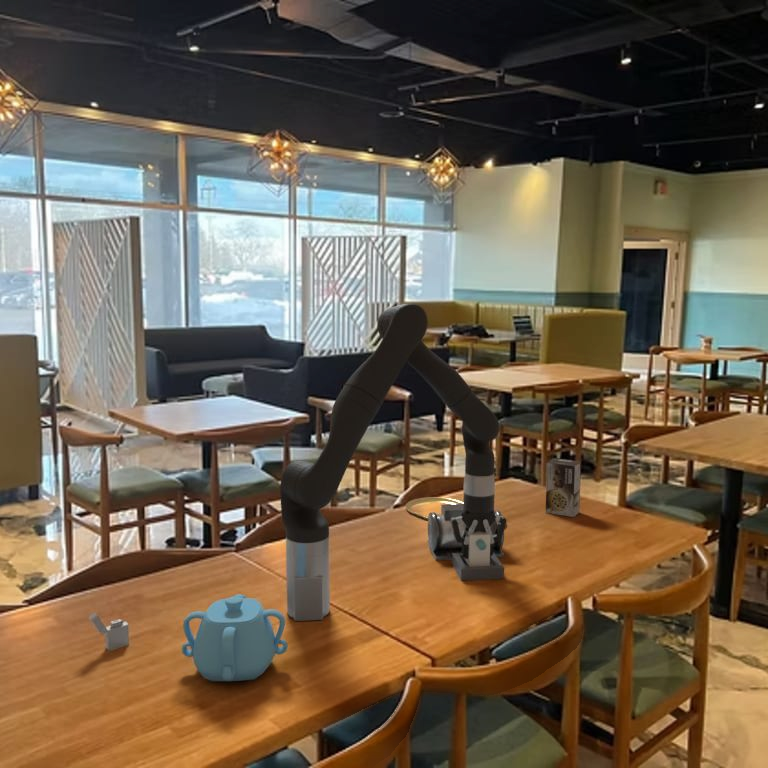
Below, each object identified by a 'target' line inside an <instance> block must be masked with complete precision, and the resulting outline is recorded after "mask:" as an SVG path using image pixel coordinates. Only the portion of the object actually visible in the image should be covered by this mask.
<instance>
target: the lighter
mask: <svg viewBox="0 0 768 768" xmlns="http://www.w3.org/2000/svg"><path fill="white" fill-rule="evenodd" d="M88 618H89V620H90V621H91V623H92V624H93V626H94V627H95V629H96V630H97V632H98V633H99V634H100V635H101V636H102V635H103V634H104V637H105V638H104V639H105V640H104V641H105V649H106V650H107V651H108V652H111V651H114V650H116V649H120V648H123V647H126V646H129V645H130V632H129V631H130V630H129V623H128V622H127V621H124V620H123V619H119V618H118V619H115V620H112V621H110V625H107V626H106V625H105V624H104V623H103V621H102V620H101V619H100V616H99V615H98V614H97V613H96V612H93V613H91V615H89V616H88Z"/></svg>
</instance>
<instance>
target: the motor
mask: <svg viewBox="0 0 768 768" xmlns="http://www.w3.org/2000/svg"><path fill="white" fill-rule="evenodd" d="M440 509H441V511H440V512H441V513H436V512H429V513H428V516H427V517H428V520H427V538H428V539H427V545H428V548H429V549H430V552H431V554H432V555H433V558H434V561H452V553H462V543H458V542H457V541H456V539H455V537H454V532H453V528H452V524H451V520H450V519H451V517H455V518H456V517H460V516H461V515H462V513H463V504H449V503H445V504H441V508H440ZM494 513H495V515H497V516H500V515H502V512H501V511H500V510H498V509H494ZM496 526H497V523H496V520H495V521H494V522H493V523H492V525H491V526H490V529H491V532H492V535H494V534H495V530H496ZM465 527H466V525H465V523H464V522H463V521H461V525H460V526H459V531H460V535H461V536H462V537H463V534H464V530H465ZM504 543H505V530H504V531H503V535H502V538H501V541H496V542H494V544H493V552H494V554H495V555H496V557H497V558H498V559H499V558H504V557H505V553H504V551H503V550H502V548H503V546H504Z"/></svg>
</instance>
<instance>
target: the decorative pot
mask: <svg viewBox="0 0 768 768" xmlns="http://www.w3.org/2000/svg"><path fill="white" fill-rule="evenodd" d="M270 617H275V618H277V619H278V622H279V624H278V625H279V626H278V629H277V631H276V634H275V632H274V627H273V625H272V622H271V620H270V619H269V618H270ZM194 619H200V620H201V621H200V624H199V626H198V629H197V631H196V635H195V637H194V635H193V632H192V629H191V627H190V626H191V625H190V621H192V620H194ZM182 625H183V626H182V627H183V632H184V634H185V637H186V640H187V641H186V642H184V644H183V645H182V646H181V652H182V654H183V655H184V656H185V657H187V658H192V659H193V663H194V666H195V668H196V670H197V671H198V672H199V674H200V675H201V676H202V677H204V678H205V679H206V680H209V681H211V682H238V681H239V682H240V681H254V680H256V679H258V678H259V676H261V675H263V673H265V671H266V670H267V668H268V667H270V665H271V663H272V661H273V659H274V657H275V655H283V654H284V653H286V652H287V650H288V648H289V645H288V642H287V640H285V639H282V635H283V634H284V630H285V627H286V619H285V616H284V615H283V613H282V612H280V611H279V610H276V609H265V608H264V606H263V605H262V603H261V602H260V601H259V600H257V599H256V598H251V597H246V595H244V594H240V593H238V594H235V595H234V596H231V597H227V598H223V599H222V598H221V599H218V600H216V601H214V602H212V604H211V605H209V607H208V608H207V610H206V611H205V612H204V611H201V610H199V611H197V610H196V611H193V612H191V613H189V614H188V615H187V616H186V617H185V619H184V620H183V624H182ZM279 645H282V646H281V647H279ZM188 647H189V648H190V649H188Z"/></svg>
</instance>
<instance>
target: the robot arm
mask: <svg viewBox="0 0 768 768" xmlns="http://www.w3.org/2000/svg"><path fill="white" fill-rule="evenodd" d="M428 325H429V321H428V315H427V312H426V310H425V309H424V308H423V307H422V306H420V305H419V304H416V303H402V304H398V305H395V306H391V307H388V308H387V309H385V310H383V311H382V312H381V313H380V315H379V316H378V318H377V324H376V326H377V331H378V334H379V336H380V338H381V339H382V340H381V341H380V343H379V345H378V346H377V347H376V348H375V350H374V351H373V353H372V354H371V355H370V356H369V357H368V358H367V359H366V360H365V361H364V362H363V363H362V364H361V365H360V366H359V367H358V368H357V369H356V370H355V371H354V372H353V373H352V374H351V376H350V377H349V378H348V380H346V382H345V384H344V386H343V387H342V389H341V390H340V392H339V394H338V396H337V397H336V399H335V401H334V403H333V406H332V409H331V416H330V427H329V434H328V438H327V442H326V444H325V445H324V447H323V450H322V452H321V453H320V455H319V456H318V458H317V459H316V461H315V463H313V462H311V461H307V460H302V459H298V460H294V461H292V462H290V463H289V464H288V465H287V466H286V467H285V469H284V470H283V473H282V474H281V478H280V485H279V495H280V511H281V512H280V513H281V521H282V524H283V526H284V529H285V548H286V550H285V552H286V553H285V555H286V556H285V557H286V560H285V561H286V565H285V567H286V606H287V608H286V610H287V615H288V616H289V617H290V618H292V619H293V621H294V622H301V621H302V622H303V621H322V620H324V617H326V616H327V615H328V614H329V613H330V611H331V610H330V608H331V607H330V604H331V603H330V598H331V597H330V525H329V521H327V518H325V516H324V515H323V513H322V512H321V509H323V508H325V507H326V506H328V504H329V503H330V502H331V501H332V500H333V498H334V496H336V493H337V490H338V489H339V486H340V484H341V482H342V480H343V477H344V476H345V472H346V470H347V469H348V467H349V465H350V462H351V459H352V458H353V456H354V454H355V452H356V450H357V448H358V447H359V445H360V443H361V441H362V439H363V437H364V435H365V433H366V432H367V430H368V428H369V427H370V425H371V423H372V422H373V420H374V418H375V417H376V415H377V413H378V412H379V410H380V408H381V407H382V405H383V402H384V401H385V399H386V397H387V395H388V394H389V392H390V389H391V388H392V386H393V385H394V383H395V381H396V379H397V378H398V375H399V374H400V372H401V370H402V368H403V367H404V365H405V364H406V362H407V363H408V364H409V365H410V366H411V367H412V368H413V369H414V370H415V371H416V372H417V373H418V375H420V376H421V377H422V378H423V379H424V380H425V382H426V383H428V384H429V386H430V387H431V388H432V389H433V390H434V392H435V393H436V394H437V396H438V397H439V398H440V400H441V401H442V402H443V403H444V404H445V405H446V406H447V408H448V409H449V410H450V411H451V412H452V413H453V414H455V415H456V416H457V417H458V418H459V420H461V421H462V423H461V432H462V433H461V434H462V441H463V445H464V452H465V459H464V460H465V461H464V462H465V463H464V468H465V470H464V478H463V487H462V489H463V496H462V497H463V501H462V502H463V513H462V515H461V516H460V517H456V518H455V517H451V519H450V520H451V524H452V528H453V532H454V537H455V539H456V541H457V542H458V543H462V554H463V556H464V557H465V558H466V559H468V557H469V545H468V543H469V536H470V534H473V532H478V531H481V532H485V531H486V533H487V534H490V558H491V556H492V555H493V544H494V542H496V541H501V538H502V535H503V531H504V532H505V527H506V524H507V518H506V517H505V516H504V515H503V514H501V515H500V516H497V515H495V513H494V510H495V497H496V496H495V495H496V493H495V492H496V491H495V490H496V487H495V486H496V480H495V453H494V451H493V450H492V448H491V445H490V441H493V440H494V439H496V438H497V437H498V435H499V433H500V423H499V419H498V418H497V416H496V415H495V413H493V411H492V410H491V409H490V408H489V407H488V406H487V405H486V404H485V403H484V402H483V401H482V400H481V399H480V398H479V397H478V395H476V394H475V392H474V391H473V390H472V388H471V387H470V386H469V384H468V383H467V382H466V381H465V380H464V378H463V376H462V375H461V374H460V373H459V372H458V371H457V370H456V369H455V368H454V367H453V366H452V365H450V364H449V363H447V362H446V361H445V360H443V359H442V358H441V357H439V356H438V355H437V354H436V353H434V352H433V351H432V350H431V349H430V348H429V347H428V346H427V345H426V344H425V343H424V341H422V340H423V339H424V337H425V336H426V333H427V330H428ZM495 520H496V523H497V526H496V530H495V534H494V535H492V532H491V529H490V526H491V525H492V523H493V522H494V521H495ZM461 521H463V522H464V523H465V525H466V527H465V530H464V534H463V537H462V536H461V535H460V531H459V526H460V525H461Z"/></svg>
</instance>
